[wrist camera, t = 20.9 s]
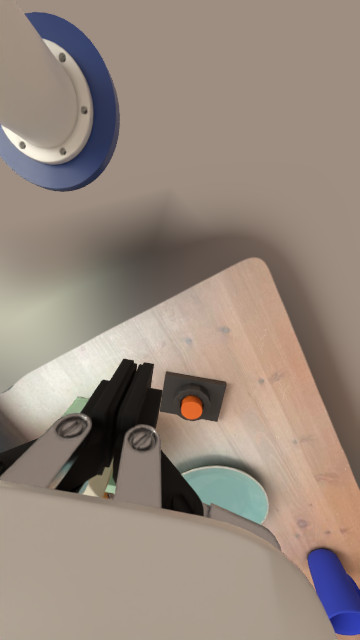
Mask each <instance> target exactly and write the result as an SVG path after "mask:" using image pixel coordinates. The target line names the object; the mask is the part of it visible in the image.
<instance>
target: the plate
mask: <svg viewBox="0 0 360 640" xmlns="http://www.w3.org/2000/svg"><path fill="white" fill-rule="evenodd" d="M181 475H182V476H183V477H184V478H185V480H186V481H187V482H188V483H189V485H190V486H191V487H192V488H193V490H194V491H195V492H196V493H197V495H198V496H199V498H200V499H201V501H202V502H203V503H205V504H207V505H210V504H211V503H213V504H215V505H218V506H220V507H222V508H224V509H227V510H229V511H231V512H233V513H236V514H238V515H240V516H242V517H245V518H247V519H249V520H251V521H254V522H256V523H258V524H260V525H262V523H263V522H264V521H265V519H266V517H267V515H268V511H269V500H268V496H267V493H266V491H265V490H264V488H263V487H262V485H261V484H260V483H259V482H258V481H257V480H256V479H255V478H253V477H252V476H251V475H249V474H247V473H245V472H244V471H241V470H239V469H236V468H232V467H227V466H218V465H214V466H203V467H198V468H194V469H191V470H188V471H186V472H184V473H182V474H181Z"/></svg>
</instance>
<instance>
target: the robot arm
mask: <svg viewBox="0 0 360 640" xmlns="http://www.w3.org/2000/svg"><path fill="white" fill-rule="evenodd" d="M93 114H94V112H93V101H92V96H91V92H90V88H89V86H88V83H87V81H86V78H85V77H84V75H83V73H82V71H81V70H80V68H79V67H78V65H77V64H76V62H75V61H74V59H73V58H72V57H71V56H70V55H69V54H68V53H67V52H66V51H65V50H64V49H63V48H61V47H60V46H58V45H57V44H56V43H54V42H51V41H49V40H46V39H42V38H41V36H40V35H39V34H38V32H37V31H36V29H35V28H34V27H33V25H32V24H31V22H30V21H29V20H28V18H27V17H26V16H25V14H24V13H23V11H22V10H21V9H20V7H19V6H18V4H17V3H16V2H15V0H0V124H1V126H2V128H3V130H4V132H5V134H6V135H7V137H8V138H9V140H10V141H11V142H12V143H13V144H14V145H15V147H16V148H17V149H18V150H20V151H21V152H22V153H24V154H25V155H26V156H28V157H30V158H31V159H33V160H35V161H38V162H40V163H43V164H49V165H57V164H62V163H66V162H68V161H70V160H71V159H73V158H75V157H76V156H77V155H78V154H79V153H80V152H81V151H82V149H83V148H84V146H85V145H86V143H87V141H88V139H89V136H90V134H91V130H92V125H93ZM65 153H66V154H65ZM153 368H154V364H151V363H145V362H144V363H143V365H141V364H140V365H139V367H138V369H137V364H136V363H134V360H128V359H123V360H122V362H121V364H120V365H119V367H118V368H117V370H116V372H115V373H114V375H113V377H112V378H111V380H110V381H107V380H102V381H101V383H100V384H99V386H98V387H97V388H96V390H95V391H94V393H93V394H92V396H91V397H90V399H89V400H88V402H87V403H86V405H85V406H84V408H83V409H82V411H81V412H80V413H72V414H68V415H65V416H63V417H61V418H60V419H58V420H57V421H56V422H55V423H54V424H53V425H52V426H51V427H50V428H49V429H48V430H47V431H46V432H45V433H44V434H43V435H42V436H41V437H40V438H38V439H35V440H33V441H30V442H28V443H25V444H23V445H20V446H18V447H15V448H13V449H10V450H8V451H5V452H3V453H0V640H338V638H337V636H336V633H335V631H334V629H333V626H332V624H331V622H330V620H329V618H328V615H327V613H326V611H325V609H324V607H323V605H322V603H321V601H320V599H319V597H318V595H317V593H316V591H315V590H314V588H313V586H312V585H311V583H310V582H309V580H308V579H307V577H306V576H305V574H304V573H303V572H302V571H301V570H300V568H299V567H298V566H297V565H296V564H295V563H294V562H293V561H292V560H291V559H289V558H288V557H287V556H286V555H285V554H284V553H282V551H281V547H280V545H279V543H278V541H277V539H276V537H275V536H274V535H273V534H272V533H271V532H270V531H269V530H268V529H267V528H265V527H264V526H262V525H260V524H258V523H256V522H254V521H251V520H249V519H247V518H245V517H242V516H240V515H238V514H236V513H233V512H231V511H229V510H227V509H224V508H222V507H220V506H218V505H215V504H213V503H211V504H210V505H207V504H205V503H203V502H202V501H201V499H200V498H199V496H198V495H197V493H196V492H195V491H194V490H193V488H192V487H191V486H190V485H189V483H188V482H187V481H186V480H185V478H184V477H183V476H182V475H181V474H180V472H179V471H178V470H177V469H176V467H175V466H174V465H173V464H172V462H171V461H170V460H169V459H168V458H167V456H166V455H165V454H164V453H163V451H162V450H161V439H160V434H159V433H158V431H157V430H156V424H157V419H158V414H159V409H160V403H161V397H162V391H163V390H159V389H153V388H151V381H152V374H153ZM136 370H137V371H136ZM112 459H113V475H112V478H113V480H114V482H115V484H116V488H115V494H114V500H112V499H106V498H101V497H95V496H89V495H83V493H84V492H85V490H86V488H87V486H88V484H89V480H90V479H91V478H93V477H95V476H96V475H101V476H102V474H103V471H104V469H105V467H107V468H109V467H110V465H111V462H112Z"/></svg>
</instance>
